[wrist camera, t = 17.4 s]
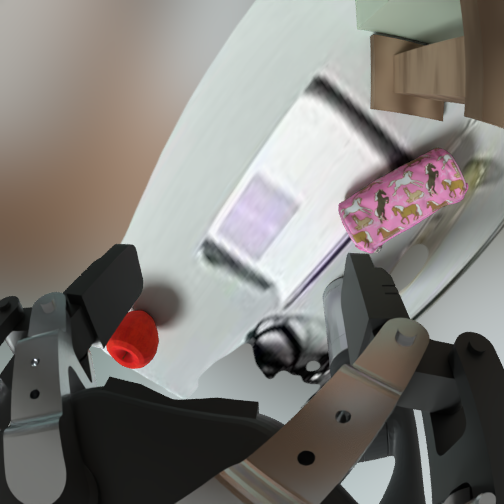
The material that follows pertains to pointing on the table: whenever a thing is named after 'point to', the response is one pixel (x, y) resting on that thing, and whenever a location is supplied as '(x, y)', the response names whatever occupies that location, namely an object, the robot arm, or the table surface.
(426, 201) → the pencil case
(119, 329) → the apple
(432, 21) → the sage block
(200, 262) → the table surface
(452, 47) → the walnut stand
